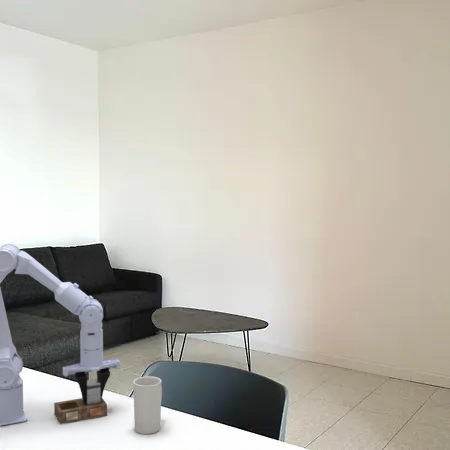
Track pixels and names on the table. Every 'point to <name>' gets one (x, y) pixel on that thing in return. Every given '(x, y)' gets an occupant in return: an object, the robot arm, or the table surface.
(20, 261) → the robot arm
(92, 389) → the plug
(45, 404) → the table surface
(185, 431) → the table surface
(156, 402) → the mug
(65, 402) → the port block
